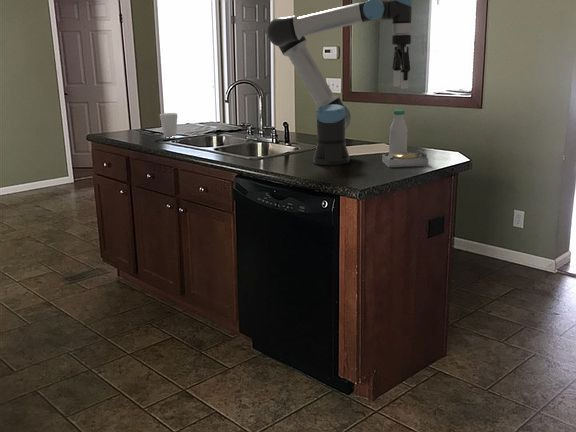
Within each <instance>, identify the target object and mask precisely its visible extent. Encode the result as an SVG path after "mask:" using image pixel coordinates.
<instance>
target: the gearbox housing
mask: <svg viewBox="0 0 576 432" xmlns="http://www.w3.org/2000/svg"><path fill="white" fill-rule="evenodd" d="M382 163H383V164H384V165H385V166H387V168H400V167H401V168H403V167H408V168H409V167H423V166H425V167H427V166H429V157H428V156H427V153H426V152H424V151H423V150H421V149H417V152H408V151H407V152H401V153H394V154H389V152H388V153H387V152H386V153H383V154H382Z"/></svg>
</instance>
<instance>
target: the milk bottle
mask: <svg viewBox="0 0 576 432" xmlns="http://www.w3.org/2000/svg"><path fill="white" fill-rule="evenodd" d="M406 123H407V122H406V120H405V110H404V109H395V110H393V119H392V123H391V125H390V127H389V137H388V138H389V139H388V142H389V143H388V154H394V153H401V152H408V137H409V136H408V134H409V133H408V132H409V131H408V126H407V124H406Z"/></svg>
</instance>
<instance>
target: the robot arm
mask: <svg viewBox="0 0 576 432" xmlns="http://www.w3.org/2000/svg"><path fill="white" fill-rule="evenodd" d="M412 3H413V2H412V0H365V1H361V2H357V3H356V2H355V3H351V4H348V5H344V6H340V7H339V6H338V7H335V8H331V9H327V10H323V11H319V12H315V13H310V14H307V15H302V16H297V15H291V16H283V17H282V16H281V17H280V16H279V17H276V18H274V19H272V20H271V21H270V23H269V24H268V26H267V30H266V34H267V38H268V40H269V41H270V42H271V44H272V45H275V46H277V47H278V48H279V50H280V52H281V53H282V55H283V56H285V57H288V58H289V60H290V61H291V63H292V66H294V69H295V70H296V72H297V74H298V76H299V77H300V79H301V81H302V83H303V84H304V86H305V88H306V89H307V91H308V93H309V94H310V96H311V97H312V100H313V101H314V103H315V105H316V107H315V111H316V129H317V130H316V132H317V133H316V135H317V136H316V137H317V138H316V141H317V144H316V148H315V151H314V155H313V164H315V165H320V166H341V165H346V164H348V163H350V154H349V152H348V148H347V145H346V129H347V128H348V127H349V125H350V123H351V118H352V117H351V113H350V112H351V111H350V110H349V108H348V107H347V106H345V105H344V103H343V101H342V99H341V98H340V96H338V95H335V94H334V93H333V91H332V89H331V88H330V86H329V84H328V82H327V80H326V79H325V77H324V75H323V73H322V72H321V71H320V69H319V67H318V65H317V63H316V62H315V59H314V58H313V56H312V54H311V52H310V50H309V49H308V47H307V38H306V37H305V36H311V35H315V34H318V33H323V32H327V31H332V30H335V29H339V28H340V29H341V28H345V27H349V26H352V25H356V24H362V23H365V22H366V23H367V22H374V21H386V20H390V21H391V20H392V23H391V24H392V25H391V26H392V27H391V28H392V29H391V30H392V31H391V33H392V37H391V40H392V41H391V44H392V45H393V46H394V45H396V46H394V52H393V60H392V70H393V87H401V88H400V89H401V90H405V89H406V90H408V89H409V76H410V75H409V73H410V71H411V64H410V55H409V54H410V53H409V46H407V45H411V42H412V35H410V34H411V33H412V28H413V25H412V11H413V10H412V9H413V7H412Z"/></svg>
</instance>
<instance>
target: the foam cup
mask: <svg viewBox="0 0 576 432" xmlns="http://www.w3.org/2000/svg"><path fill="white" fill-rule="evenodd" d="M159 119H160V124H161V127H162V133H163V137H164V136H165V137H172V136H176V137H177V128H178V113H176V112H165V113H160V114H159ZM165 137H164V138H165Z"/></svg>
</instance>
